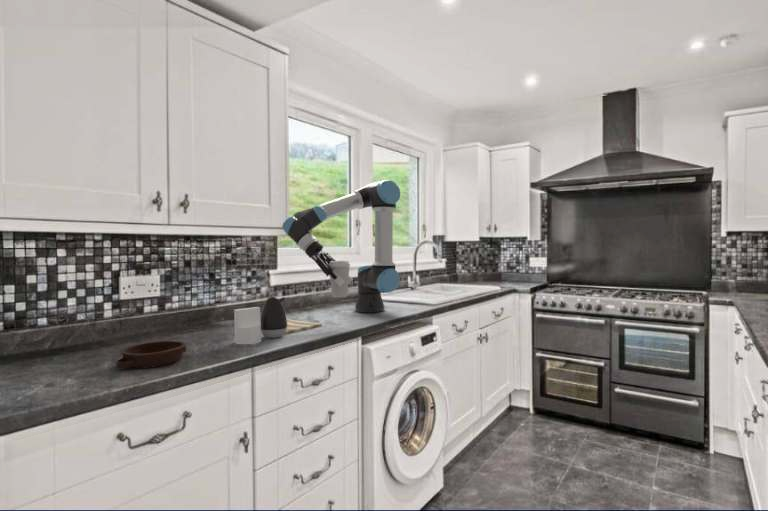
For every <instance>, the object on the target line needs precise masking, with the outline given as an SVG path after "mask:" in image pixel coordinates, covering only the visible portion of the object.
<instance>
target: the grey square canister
mask: <svg viewBox="0 0 768 511" xmlns="http://www.w3.org/2000/svg"><path fill="white" fill-rule="evenodd" d="M233 313H234V314H233V315H234V317H233V319H234V344H235V343H236V344H235V345H237V344H251V345H256V344H255V343H257V344H260V343H262V333H261V321H260V317H261V307H259V306H254V307H253V306H252V307H245V308H237V309H233ZM259 342H260V343H259Z"/></svg>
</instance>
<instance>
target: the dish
mask: <svg viewBox="0 0 768 511" xmlns="http://www.w3.org/2000/svg"><path fill="white" fill-rule="evenodd" d="M187 344H188V343H186V342H183V341H178V340H175V341H174V340H173V341H172V340H167V341H166V340H162V341H161V340H160V341H151V342H150V341H149V342H144V343H137V344H134V345H130V346H127V347H125V348H121V349H120V351H119V353H120V354H121V355H122V357H121V358H120V359H118V360H117V361H116V362H115V367H116V368H117V369H128V368H132V367H137V368H136V369H140V368H139V367H152V368H154V367H153V366H159V367H161V366H160V365H164V366H166V365H165V364H168V365H170V364H169V363H171V364H174V363H176V362H178V361H180V359H181V358H182V356H183V354H184V353H185V352H187V349H188V348H187ZM173 362H174V363H173Z"/></svg>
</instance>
